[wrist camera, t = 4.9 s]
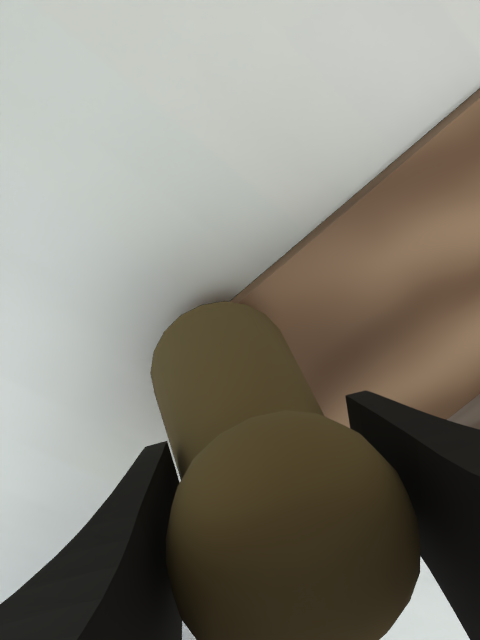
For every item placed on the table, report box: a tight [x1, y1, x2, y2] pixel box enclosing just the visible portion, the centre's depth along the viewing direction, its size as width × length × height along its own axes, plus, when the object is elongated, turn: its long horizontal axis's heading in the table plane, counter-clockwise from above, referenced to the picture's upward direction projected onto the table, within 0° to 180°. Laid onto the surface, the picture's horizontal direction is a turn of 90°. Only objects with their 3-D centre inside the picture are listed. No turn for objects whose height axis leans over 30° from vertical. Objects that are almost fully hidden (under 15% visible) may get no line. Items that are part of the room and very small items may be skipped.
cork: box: [151, 301, 420, 640], centre depth 12 cm, size 6×6×11 cm
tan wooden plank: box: [230, 89, 480, 429], centre depth 20 cm, size 14×22×4 cm, turn 130°
